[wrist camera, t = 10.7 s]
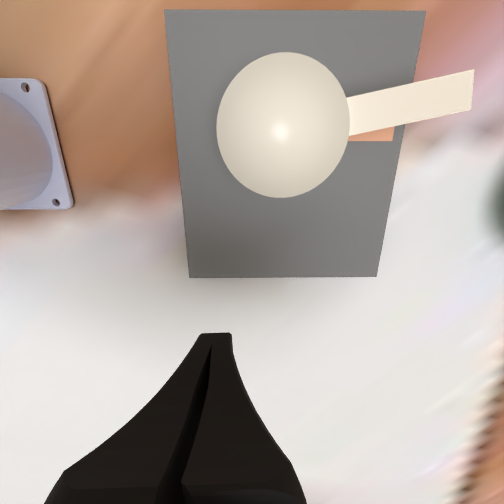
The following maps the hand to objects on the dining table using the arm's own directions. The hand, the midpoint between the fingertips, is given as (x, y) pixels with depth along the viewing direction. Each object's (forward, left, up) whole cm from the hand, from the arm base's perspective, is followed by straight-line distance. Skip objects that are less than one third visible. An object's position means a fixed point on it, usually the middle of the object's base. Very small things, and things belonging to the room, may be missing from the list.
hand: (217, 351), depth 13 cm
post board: (+4, +7, -10) cm, 13 cm away
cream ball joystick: (+6, +10, -8) cm, 13 cm away
